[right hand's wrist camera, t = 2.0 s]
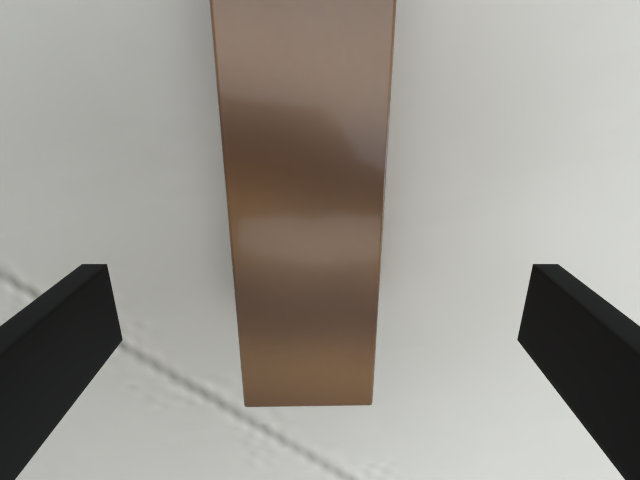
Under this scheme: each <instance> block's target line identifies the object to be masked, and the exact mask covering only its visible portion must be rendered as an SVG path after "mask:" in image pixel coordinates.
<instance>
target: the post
mask: <svg viewBox="0 0 640 480" xmlns="http://www.w3.org/2000/svg"><path fill="white" fill-rule="evenodd" d="M210 10H211V21H212V33H213V45H214V56H215V68H216V80H217V91H218V103H219V114H220V126H221V138H222V149H223V161H224V173H225V184H226V196H227V208H228V219H229V231H230V243H231V254H232V266H233V278H234V289H235V301H236V313H237V324H238V336H239V348H240V359H241V371H242V383H243V394H244V405H245V407H278V406H346V405H371V404H372V400H373V383H374V366H375V349H376V333H377V316H378V299H379V282H380V265H381V248H382V232H383V215H384V198H385V181H386V164H387V148H388V131H389V114H390V97H391V80H392V63H393V47H394V30H395V13H396V0H210Z"/></svg>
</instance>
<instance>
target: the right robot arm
mask: <svg viewBox="0 0 640 480" xmlns="http://www.w3.org/2000/svg"><path fill="white" fill-rule="evenodd" d="M121 341H122V335H121V330H120V325H119V320H118V316H117V311H116V306H115V301H114V296H113V291H112V286H111V282H110V277H109V272H108V267H107V264H82V265H80V266H79V267H78V268H76V269H75V270H74V271H72V272H71V273H70V274H68V275H67V276H66V277H65V278H63V279H62V280H61V281H59V282H58V283H57V284H55V285H54V286H53V287H51V288H50V289H49V290H47V291H46V292H45V293H43V294H42V295H41V296H40V297H38V298H37V299H36V300H34V301H33V302H32V303H30V304H29V305H28V306H26V307H25V308H24V309H22V310H21V311H20V312H19V313H17V314H16V315H15V316H13V317H12V318H11V319H9V320H8V321H7V322H5V323H4V324H3V325H1V326H0V480H15V479H16V478H17V476H18V475H19V474H20V472H21V471H22V470H23V468H24V467H25V466H26V465H27V463H28V462H29V461H30V459H31V458H32V457H33V456H34V454H35V453H36V452H37V450H38V449H39V448H40V446H41V445H42V444H43V443H44V441H45V440H46V439H47V437H48V436H49V435H50V433H51V432H52V431H53V430H54V428H55V427H56V426H57V424H58V423H59V422H60V420H61V419H62V418H63V417H64V415H65V414H66V413H67V411H68V410H69V409H70V407H71V406H72V405H73V404H74V402H75V401H76V400H77V398H78V397H79V396H80V394H81V393H82V392H83V391H84V389H85V388H86V387H87V385H88V384H89V383H90V381H91V380H92V379H93V378H94V376H95V375H96V374H97V372H98V371H99V370H100V368H101V367H102V366H103V365H104V363H105V362H106V361H107V359H108V358H109V357H110V355H111V354H112V353H113V352H114V350H115V349H116V348H117V346H118V345H119V344H120V342H121ZM518 341H519V342H520V344H521V345H522V346H523V348H524V349H525V350H526V352H527V353H528V354H529V355H530V357H531V358H532V359H533V361H534V362H535V363H536V365H537V366H538V367H539V368H540V370H541V371H542V372H543V374H544V375H545V376H546V378H547V379H548V380H549V381H550V383H551V384H552V385H553V387H554V388H555V389H556V391H557V392H558V393H559V394H560V396H561V397H562V398H563V400H564V401H565V402H566V404H567V405H568V406H569V407H570V409H571V410H572V411H573V413H574V414H575V415H576V417H577V418H578V419H579V420H580V422H581V423H582V424H583V426H584V427H585V428H586V430H587V431H588V432H589V433H590V435H591V436H592V437H593V439H594V440H595V441H596V443H597V444H598V445H599V446H600V448H601V449H602V450H603V452H604V453H605V454H606V456H607V457H608V458H609V459H610V461H611V462H612V463H613V465H614V466H615V467H616V468H617V470H618V471H619V472H620V474H621V475H622V476H623V478H624V479H625V480H640V326H639V325H637V324H636V323H635V322H633V321H632V320H631V319H629V318H628V317H627V316H625V315H624V314H623V313H621V312H620V311H619V310H618V309H616V308H615V307H614V306H612V305H611V304H610V303H608V302H607V301H606V300H604V299H603V298H602V297H600V296H599V295H598V294H596V293H595V292H594V291H593V290H591V289H590V288H589V287H587V286H586V285H585V284H583V283H582V282H581V281H579V280H578V279H577V278H575V277H574V276H573V275H572V274H570V273H569V272H568V271H566V270H565V269H564V268H562V267H561V266H560V265H558V264H533V267H532V272H531V277H530V282H529V286H528V291H527V296H526V301H525V306H524V311H523V315H522V320H521V325H520V330H519V335H518Z"/></svg>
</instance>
